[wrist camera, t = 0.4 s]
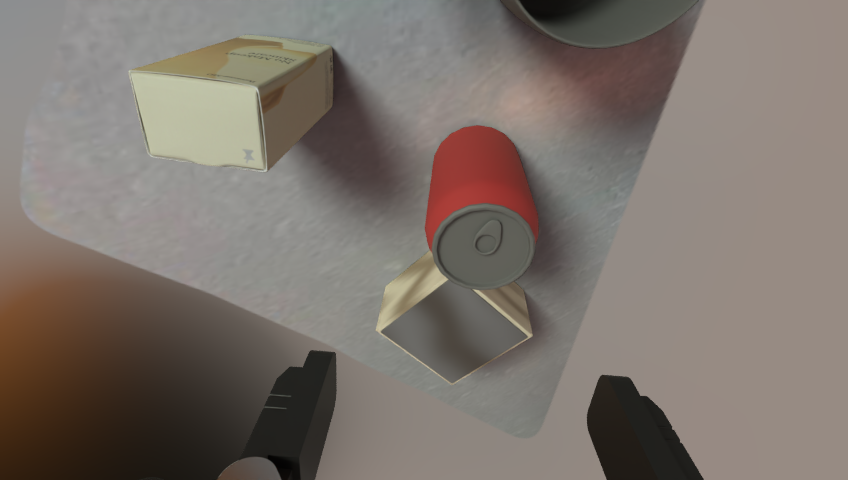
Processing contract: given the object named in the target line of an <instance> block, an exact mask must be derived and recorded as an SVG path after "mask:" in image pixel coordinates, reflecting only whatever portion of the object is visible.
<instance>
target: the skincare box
mask: <svg viewBox="0 0 848 480" xmlns="http://www.w3.org/2000/svg"><path fill="white" fill-rule="evenodd" d="M129 77H130V81H131V85H132V90H133V95H134V99H135V104H136V109H137V113H138V117H139V121H140V125H141V130H142V134H143V138H144V142H145V146H146V150H147V153H148V154H149V155H150V156H151V157H154V158H161V159H168V160H175V161H183V162H190V163H196V164H202V165H208V166H220V167H228V168H235V169H244V170H251V171H259V172H267V171H268V170H269V169H270V168H271V167H272V166H273V165H274V164H275V163H276V162H277V161H278V160H279V159H280V158H281V157H282V156H283V155H284V154H285V153H286V152H287V151H288V150H290V148H291V147H292V146H293V145H294V144H295V143H296V142H297V141H298V140H299V139H300V138H301V137H302V136H303V135H304V134H305V133H306V132H307V131H308V130H309V129H310V128H311V127H312V126H313V125H314V124H315V123H316V122H317V121H318V120H319V119H320V118H321V117H322V116H323V115H325V114H326V113H327V112H328V111H329V109H330V108H332V106H333V52H332V47H331V46H330V45H324V44H319V43H313V42H307V41H300V40H293V39H286V38H276V37H266V36H255V35H244V36H240V37H237V38H234V39H231V40H228V41H225V42H222V43H218V44H215V45H211V46H208V47H205V48H202V49H198V50H195V51H192V52H189V53H185V54H182V55H178V56H175V57H172V58H168V59H165V60H162V61H159V62H156V63H152V64H149V65H146V66H142V67H139V68H135V69H132V70H129Z"/></svg>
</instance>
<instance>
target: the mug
mask: <svg viewBox="0 0 848 480" xmlns="http://www.w3.org/2000/svg"><path fill="white" fill-rule="evenodd" d="M698 1H699V0H501V2H502V3H503V4H504V5H505V6H506V7H507V8H508V9H509V10H510V11H511V12H512V13H513V14H514V15H516V16H517V17H518V18H519V19H520V20H522V21H523V22H524V23H526V24H527V25H528V26H530V27H531V28H533V29H534V30H536V31H537V32H539V33H541V34H543V35H544V36H546V37H548V38H550V39H553V40H555V41H557V42H560V43H563V44H567V45H570V46H575V47H581V48H591V49H600V48H611V47H618V46H622V45H626V44H629V43H632V42H635V41H638V40H641V39H643V38H645V37H648V36H650V35H652V34H654V33H656V32H658V31H659V30H661V29H663V28H665V27H666V26H668V25H669V24H671V23H672V22H674V21H675V20H677V19H678V18H679V17H681V16H682V15H683V14H684V13H686V12H687V11H688V10H689V9H690V8H691V7H692V6H694V5H695V4H696V3H697V2H698Z"/></svg>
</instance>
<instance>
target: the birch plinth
mask: <svg viewBox="0 0 848 480" xmlns="http://www.w3.org/2000/svg"><path fill="white" fill-rule="evenodd" d="M376 331H377V332H379V333H380V334H382V335H383V336H384V337H386V338H387V339H389V340H390V341H391V342H393V343H394V344H396V345H397V346H398V347H400V348H401V349H403V350H404V351H405V352H407V353H408V354H409V355H411V356H412V357H414V358H415V359H416V360H418V361H419V362H421V363H422V364H423V365H425V366H426V367H428V368H429V369H430V370H432V371H433V372H435V373H436V374H437V375H439V376H440V377H441V378H443V379H444V380H446V381H447V382H448V383H450V384H451V385H453V384H455V383H456V382H458V381H460V380H461V379H463V378H465V377H466V376H468V375H470V374H471V373H473V372H474V371H476V370H478V369H479V368H481V367H483V366H484V365H486V364H488V363H489V362H491V361H493V360H494V359H496V358H497V357H499V356H501V355H502V354H504V353H506V352H507V351H509V350H511V349H512V348H514V347H516V346H517V345H519V344H520V343H522V342H524V341H525V340H527V339H529V338H530V337H532V336H533V334H532V329H531V324H530V319H529V314H528V310H527V305H526V300H525V295H524V290H523V289H522V288H521V287H519V286H518V285H517V284H516V283H515V282H512V283H511V284H508V285H506V286H503V287H500V288H497V289H491V290H474V289H467V288H464V287H462V286H459V285H457V284H455V283H452V282H451V281H450V280H449V279H447V278H446V277H445V276H444V275H443V274H441V272H440V271H439V269H438V267H437V266H436V264H435V263H434V259H433V254H432V252H431V251H428V252H427V253H426V254H425V255H424V256H422V257H421V258H420V259H419V260H417V261H416V262H415V263H414V264H413V265H411V266H410V267H409V268H408V269H406V270H405V271H404V272H403V273H402V274H400V275H399V276H398V277H397V278H395V279H394V280H393V281H392V282H391V283H389V284H388V285H387V286H386V288H385V293H384V297H383V301H382V306H381V310H380V315H379V319H378V323H377V328H376Z"/></svg>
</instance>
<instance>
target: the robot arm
mask: <svg viewBox="0 0 848 480" xmlns="http://www.w3.org/2000/svg"><path fill="white" fill-rule="evenodd" d="M335 401H336V353H335V352H326V351H314V350H311V351H310V352H309V354H308V356H307V358H306V361H305V363H304V366H303V368H302V367H289V368H288V369H287V370H286V371H285V372H284V373H283V374H282V375H281V376H279V377H278V378H277V380H276V382H275V384H274V386H273V389H272V391H271V393H270V396H269V397H268V399H267V401H266V404H265V407H264V409H263V410H262V412H261V414H260V416H259V419H258V421H257V423H256V425H255V427H254V429H253V432H252V434H251V436H250V438H249V440H248V443H247V444H246V447H245V449H244V451H243V453H242V455H241V457H240V458H239V460H238V461H237V462H235V463H233V464H232V465H230V466H229V467H227V468H226V469H225V470H224V471H223V472H222V473H221V475H220V476H219V477H218V478H216V479H214V480H315V477H316V473H317V470H318V466H319V462H320V459H321V455H322V451H323V448H324V444H325V441H326V437H327V433H328V430H329V426H330V422H331V419H332V415H333V411H334V407H335ZM587 426H588V431H589V434H590V437H591V439H592V442H593V445H594V447H595V450H596V452H597V455H598V458H599V461H600V463H601V466H602V468H603V471H604V474H605V476H606V479H607V480H704V479H703V478H702V476H701V474H700V473H699V471H698V469H697V468H696V466H695V464H694V463H693V461H692V459H691V457H690V456H689V454H688V453H687V451H686V449H685V448H684V446H683V444H682V443H680V439H679V437H678V436H677V434H676V432H675V431H674V430H672V426H671V424H670V422H669V421H668V419H667V418H666V416H665V414H664V412H663V411H662V410H661V409H660V408H659V407H658V406H657V405H656V404H655V403H654V402H653V401H652V400H650V399H649V398H648V397H647V396H640V395H639V393H638V391H637V389H636V387H635V386H634V384H633V382H632V380H631V379H630V378H629V377H622V376H611V375H610V376H609V375H602V376H600V378H599V380H598V383H597V386H596V388H595V391H594V395H593V397H592V400H591V404H590V406H589V409H588V414H587ZM140 480H163V479H160V478H154V477H152V478H144V479H140Z"/></svg>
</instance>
